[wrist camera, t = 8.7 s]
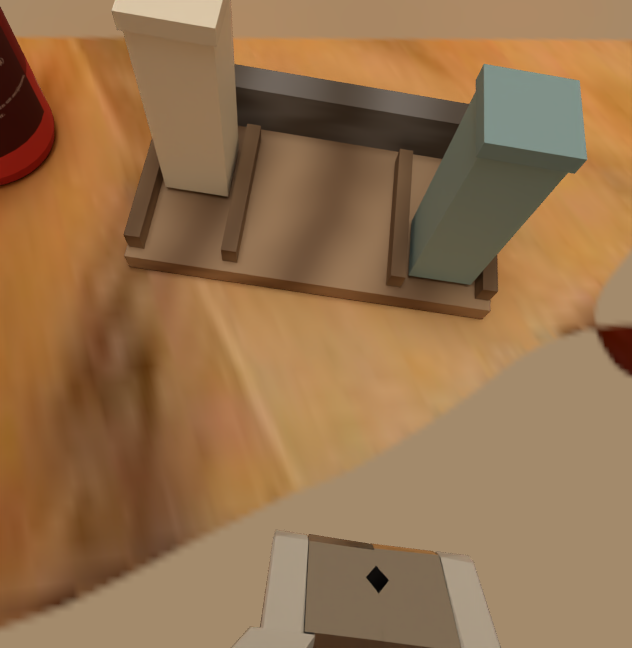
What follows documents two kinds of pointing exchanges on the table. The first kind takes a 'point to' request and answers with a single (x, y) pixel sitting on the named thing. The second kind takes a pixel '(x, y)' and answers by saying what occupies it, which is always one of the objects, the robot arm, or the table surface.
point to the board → (312, 197)
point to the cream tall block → (186, 87)
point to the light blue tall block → (496, 171)
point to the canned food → (20, 112)
